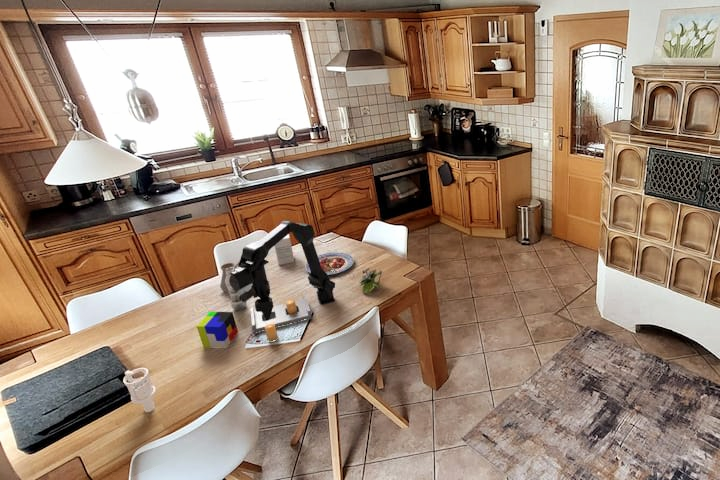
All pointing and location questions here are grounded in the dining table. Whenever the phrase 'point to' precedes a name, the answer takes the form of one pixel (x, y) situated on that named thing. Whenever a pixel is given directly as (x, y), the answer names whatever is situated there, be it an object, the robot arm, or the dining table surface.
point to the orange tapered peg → (291, 307)
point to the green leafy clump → (370, 280)
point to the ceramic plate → (333, 262)
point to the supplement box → (284, 251)
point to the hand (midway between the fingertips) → (266, 313)
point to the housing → (281, 315)
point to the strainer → (140, 389)
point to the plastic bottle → (233, 293)
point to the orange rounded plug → (271, 332)
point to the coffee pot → (224, 267)
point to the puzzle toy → (217, 329)
